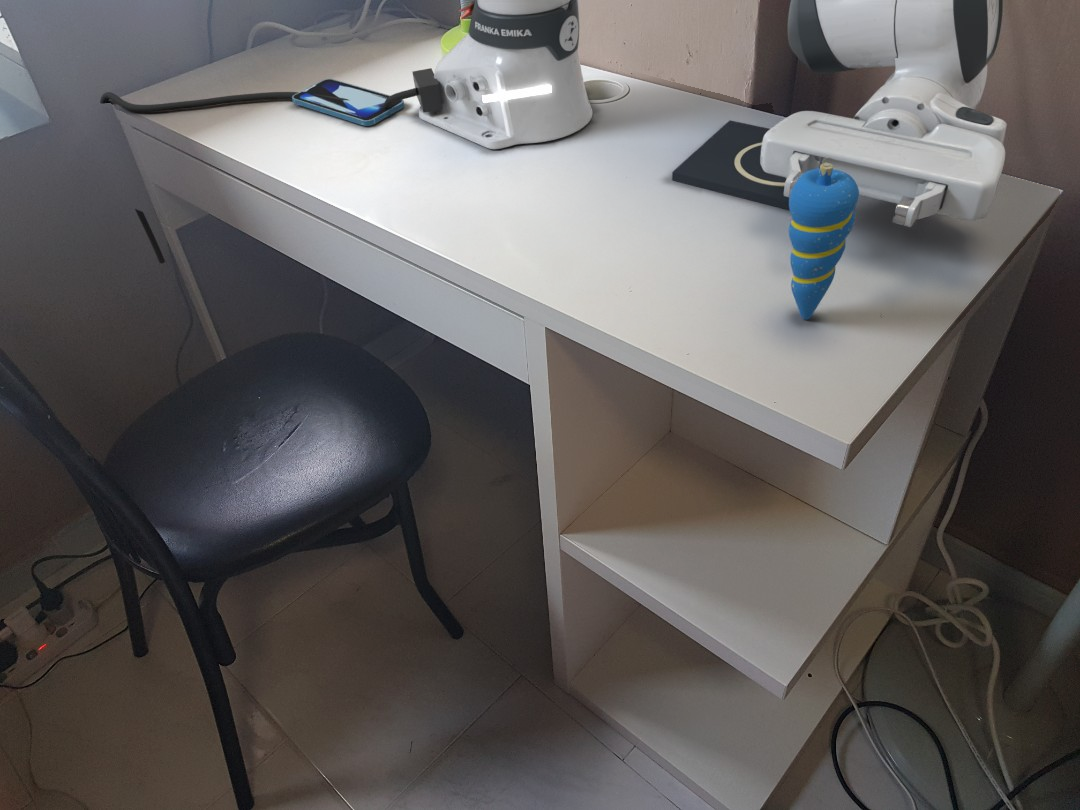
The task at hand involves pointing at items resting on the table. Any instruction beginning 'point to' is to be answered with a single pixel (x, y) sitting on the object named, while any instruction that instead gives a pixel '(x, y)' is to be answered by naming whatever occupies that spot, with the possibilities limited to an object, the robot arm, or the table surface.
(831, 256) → the ornament
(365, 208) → the table surface
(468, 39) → the robot arm
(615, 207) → the table surface
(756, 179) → the mat
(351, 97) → the smartphone
